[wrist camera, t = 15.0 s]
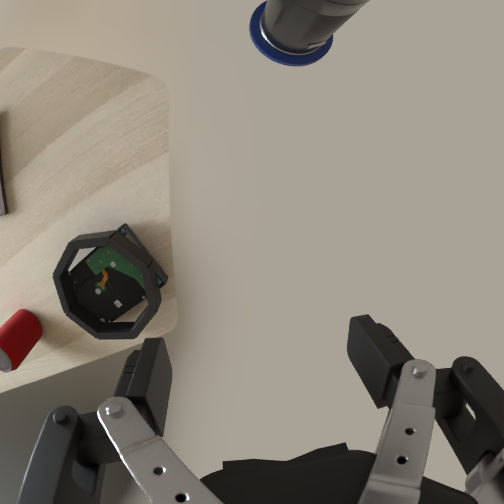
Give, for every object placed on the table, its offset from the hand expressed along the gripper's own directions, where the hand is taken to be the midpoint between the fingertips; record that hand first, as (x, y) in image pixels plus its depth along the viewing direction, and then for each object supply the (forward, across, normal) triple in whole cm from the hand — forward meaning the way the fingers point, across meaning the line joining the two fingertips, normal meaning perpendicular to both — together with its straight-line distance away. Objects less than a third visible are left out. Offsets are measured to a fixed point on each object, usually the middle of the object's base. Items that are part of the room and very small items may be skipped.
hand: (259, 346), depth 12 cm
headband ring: (+27, +19, +8) cm, 34 cm away
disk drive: (+30, +19, +8) cm, 37 cm away
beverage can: (+30, +40, +16) cm, 53 cm away
